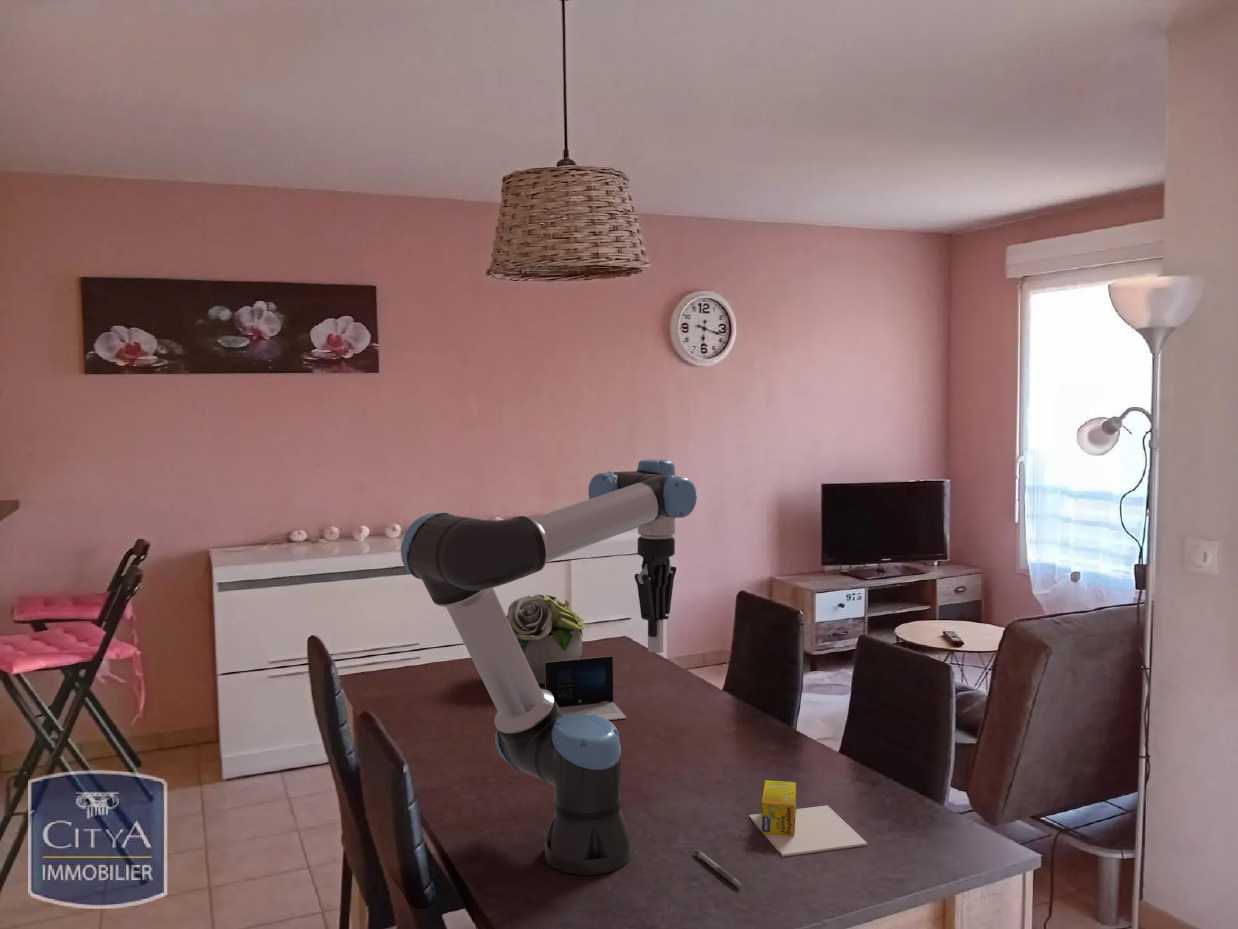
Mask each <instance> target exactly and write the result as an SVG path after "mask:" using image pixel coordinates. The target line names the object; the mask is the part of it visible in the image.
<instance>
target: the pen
mask: <svg viewBox="0 0 1238 929" xmlns="http://www.w3.org/2000/svg"><path fill="white" fill-rule="evenodd" d="M694 853H695V855H696V857H697V858H698V860H702V861H703V862H704V863H706V864H707V865H709V867H710V868H712V869H713V870H715V871H716V872H717V873H719V875H720V876H722V877H723V878H724V879H725V880H727V881H729V882H730V883H731V884H733V886H736V887H738V888H740V887H742V884H741V883H740V881H739V880H738V879H737V878H736V877H734V876H733V875H732V874H731V873H729V872H728V871H727V870H726V869H725V868H723V867H722V866H720V865H719V864H718V863H717V862H715V861H714V860H712V859H711V858H710V857H709V856H707V855H706V854H705V853H704V852H702V851H701V850H699V849H694Z"/></svg>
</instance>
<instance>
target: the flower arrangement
mask: <svg viewBox="0 0 1238 929" xmlns="http://www.w3.org/2000/svg"><path fill="white" fill-rule="evenodd" d="M569 604H570V602H569V601H568V600H565V601H564V603H562V601H561V600H559V599H557V596H556V597H555V596H551V595H548V594H546V595H543V594H535V595H533V596H531V595H530V594H529V595H527V596H522V597H519V598H517V599H515V600H514V601H512V602H511V603H510V604H509V606H508V609H507V614H506V617H507V619H508V621H509V623H510V625H511V627H512V630H513V632H514V634H515V636H516V638H517V640H518V642H519V644H520V647H521V649H522V651H523V653H524V655H525V657H526V659H527V661H528V664H529V666H530V668H531V670H532V672H533V674H534V676H535V678H536V681H537V683H538V685H539V684H542V685H543V684H544V685H545V662H550V661H561V660H572V659H581V656H582V653H583V639H584V636H583V631H584V630H585V629H589V627H588V625H586V624H585V623H584V619H583V618H581V617H580V616H578V615H577V613H576V612H575V611H572V609H571V608H569V607H570V605H569ZM584 627H585V628H584Z"/></svg>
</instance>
